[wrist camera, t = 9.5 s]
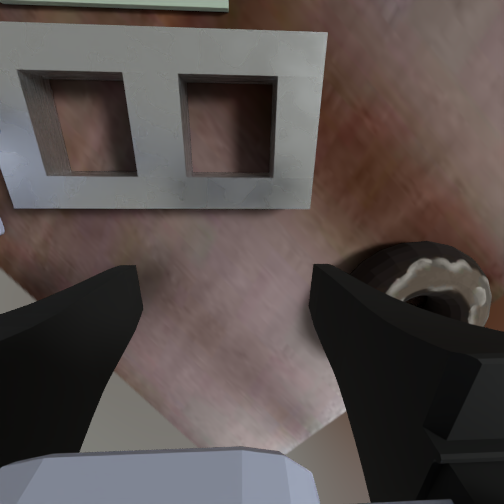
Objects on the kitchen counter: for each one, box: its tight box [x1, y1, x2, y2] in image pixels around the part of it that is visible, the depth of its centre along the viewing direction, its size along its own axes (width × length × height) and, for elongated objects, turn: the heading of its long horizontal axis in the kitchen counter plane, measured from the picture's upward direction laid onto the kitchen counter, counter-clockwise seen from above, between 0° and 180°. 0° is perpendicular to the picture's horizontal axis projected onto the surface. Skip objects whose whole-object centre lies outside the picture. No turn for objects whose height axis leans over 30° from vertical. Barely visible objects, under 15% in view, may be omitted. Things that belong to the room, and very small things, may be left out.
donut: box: [350, 241, 491, 327], centre depth 21 cm, size 12×12×4 cm
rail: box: [0, 22, 328, 209], centre depth 16 cm, size 18×9×2 cm, turn 89°
